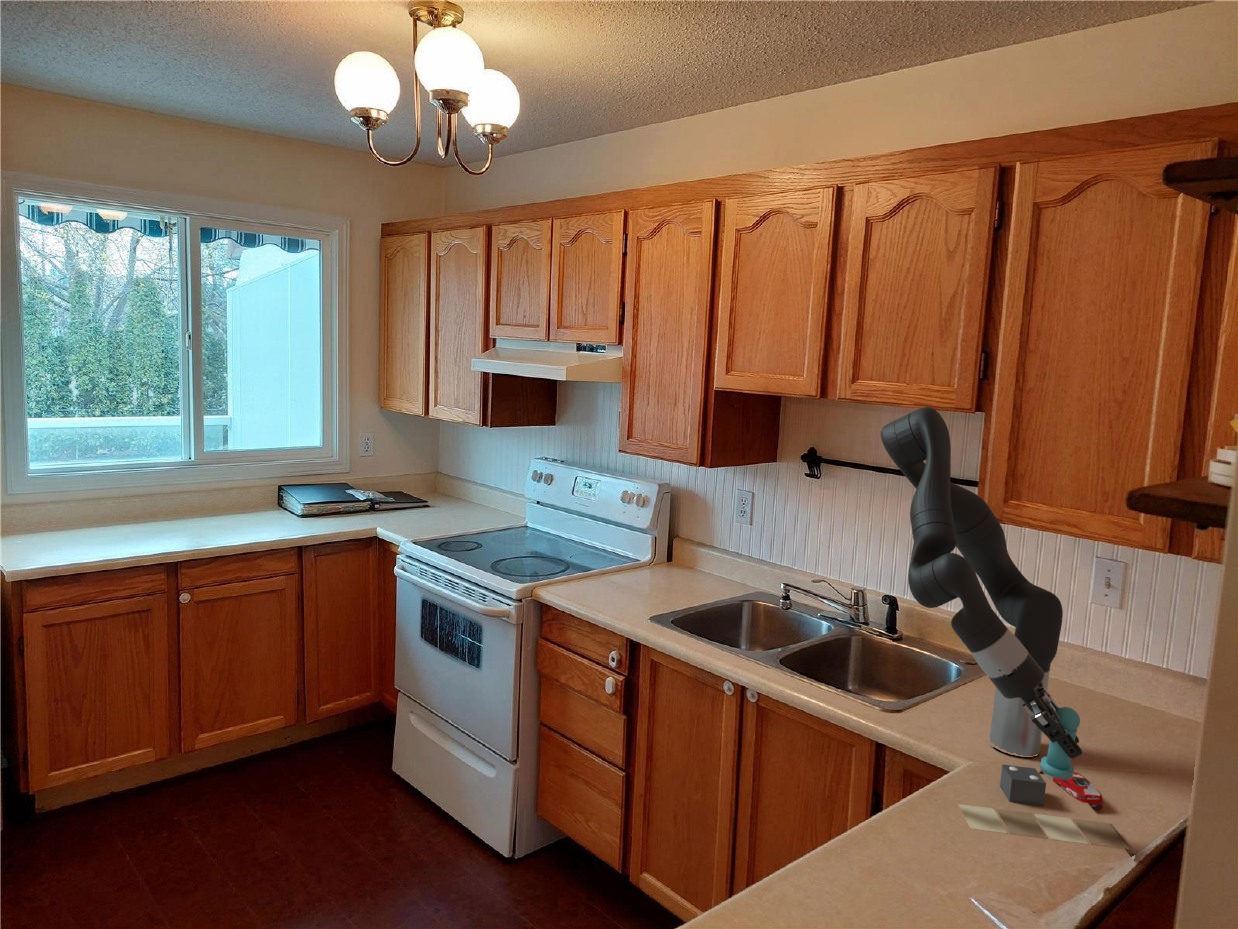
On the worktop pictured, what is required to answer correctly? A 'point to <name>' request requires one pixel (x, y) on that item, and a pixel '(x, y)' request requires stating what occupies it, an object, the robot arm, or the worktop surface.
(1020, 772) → the die
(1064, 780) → the race car
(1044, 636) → the robot arm
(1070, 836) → the track board
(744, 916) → the worktop surface
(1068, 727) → the pawn
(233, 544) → the worktop surface
